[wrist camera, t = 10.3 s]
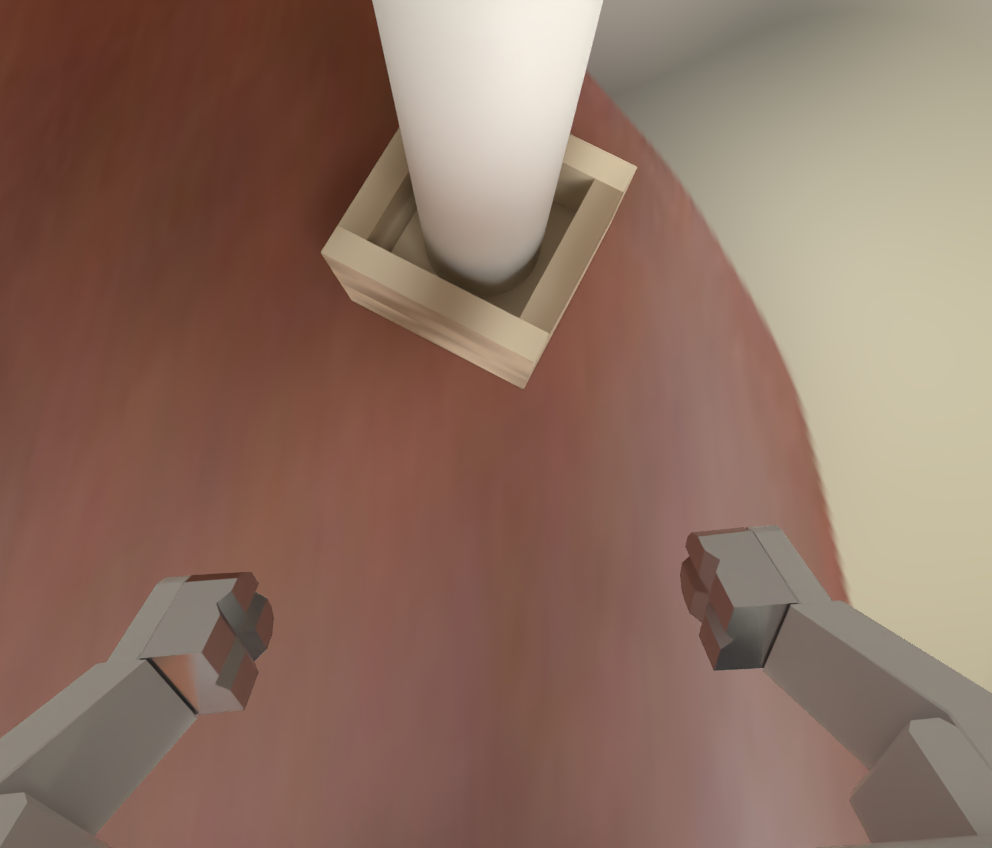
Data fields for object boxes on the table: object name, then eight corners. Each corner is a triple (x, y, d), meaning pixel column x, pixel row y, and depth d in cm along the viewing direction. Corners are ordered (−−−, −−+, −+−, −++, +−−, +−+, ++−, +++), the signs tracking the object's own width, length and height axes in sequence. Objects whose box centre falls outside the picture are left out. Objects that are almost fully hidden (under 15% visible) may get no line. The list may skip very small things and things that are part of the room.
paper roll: (404, 263, 21) (300, -62, 9) (459, 169, 22) (434, -251, 9) (507, 316, 21) (549, 61, 9) (559, 220, 22) (666, -143, 9)
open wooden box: (351, 300, 23) (320, 252, 18) (444, 147, 24) (436, 68, 20) (523, 389, 22) (534, 362, 18) (608, 229, 24) (637, 167, 19)
